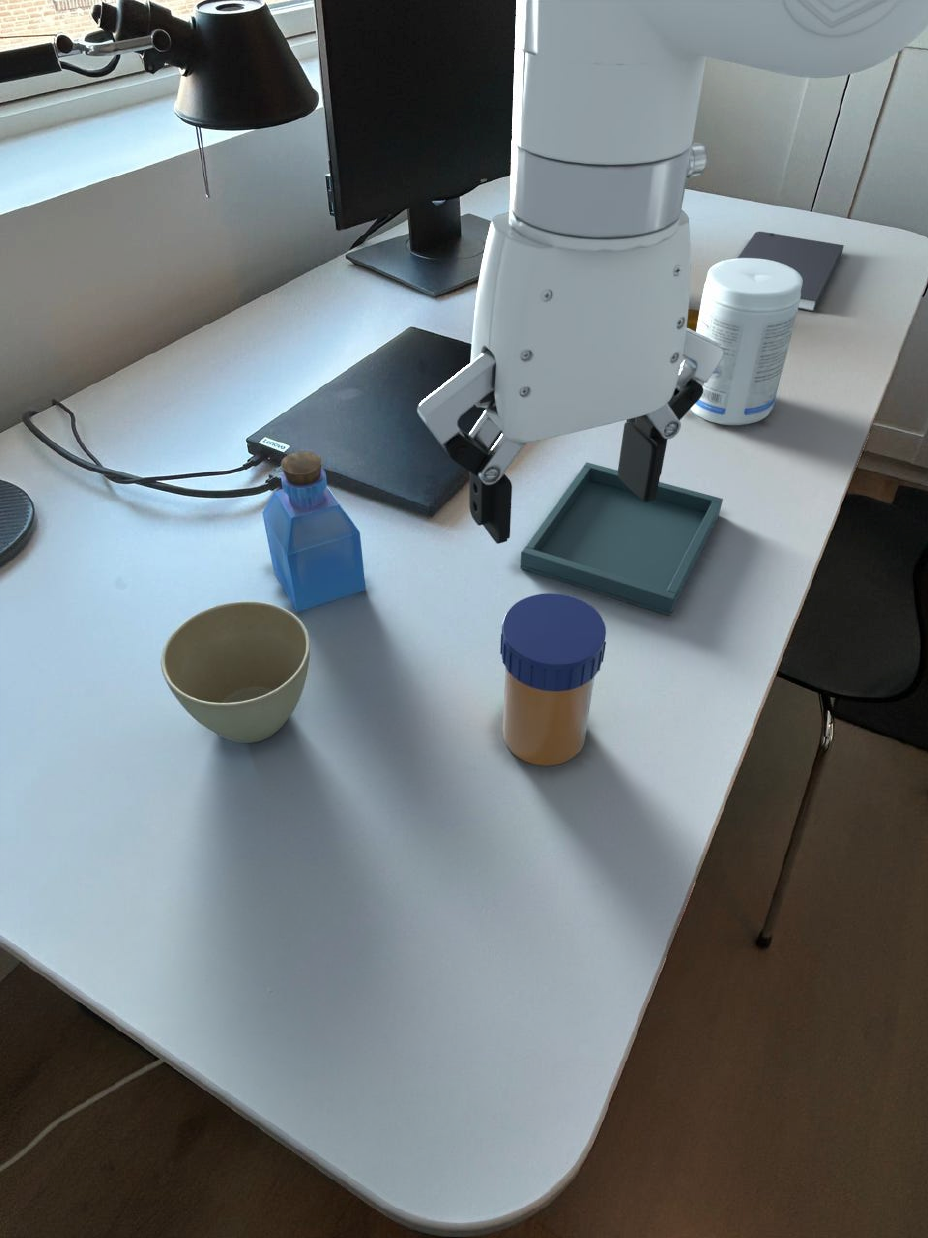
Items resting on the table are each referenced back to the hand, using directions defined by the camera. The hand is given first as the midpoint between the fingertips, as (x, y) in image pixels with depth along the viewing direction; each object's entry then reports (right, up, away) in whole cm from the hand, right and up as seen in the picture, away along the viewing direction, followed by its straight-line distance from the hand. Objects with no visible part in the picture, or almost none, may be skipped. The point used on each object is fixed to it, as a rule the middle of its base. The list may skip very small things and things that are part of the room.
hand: (565, 507), depth 50 cm
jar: (0, -15, +14) cm, 20 cm away
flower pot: (-21, -14, +15) cm, 30 cm away
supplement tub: (+23, +17, +48) cm, 56 cm away
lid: (0, -7, +7) cm, 10 cm away
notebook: (+39, +42, +74) cm, 94 cm away
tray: (+9, +1, +30) cm, 31 cm away
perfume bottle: (-18, -3, +26) cm, 32 cm away
